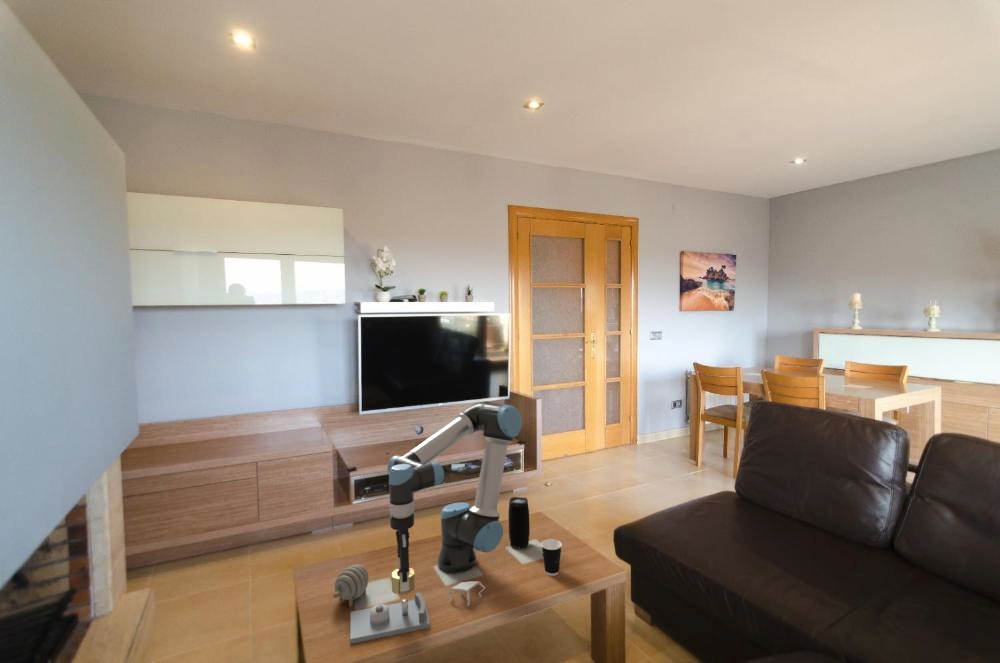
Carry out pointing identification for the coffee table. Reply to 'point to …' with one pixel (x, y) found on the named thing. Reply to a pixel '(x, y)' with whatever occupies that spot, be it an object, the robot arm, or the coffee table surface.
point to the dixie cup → (551, 556)
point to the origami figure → (466, 588)
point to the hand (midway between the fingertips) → (403, 583)
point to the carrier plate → (388, 620)
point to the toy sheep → (351, 583)
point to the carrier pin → (404, 607)
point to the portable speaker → (519, 522)
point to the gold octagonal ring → (397, 582)
